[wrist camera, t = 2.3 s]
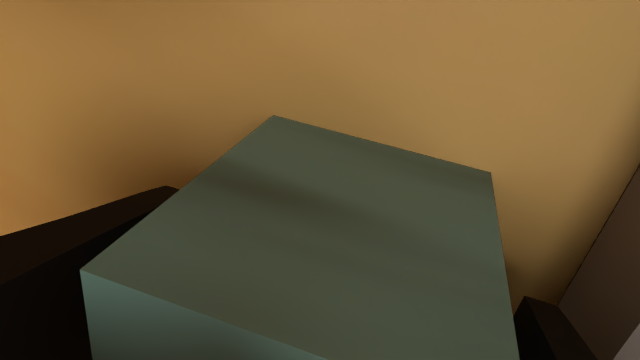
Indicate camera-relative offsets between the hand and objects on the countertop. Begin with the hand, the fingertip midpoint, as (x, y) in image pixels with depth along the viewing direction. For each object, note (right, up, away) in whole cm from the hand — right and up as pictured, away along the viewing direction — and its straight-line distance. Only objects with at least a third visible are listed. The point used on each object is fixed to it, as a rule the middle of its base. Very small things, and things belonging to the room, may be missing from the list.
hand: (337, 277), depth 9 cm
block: (+1, +1, +2) cm, 2 cm away
